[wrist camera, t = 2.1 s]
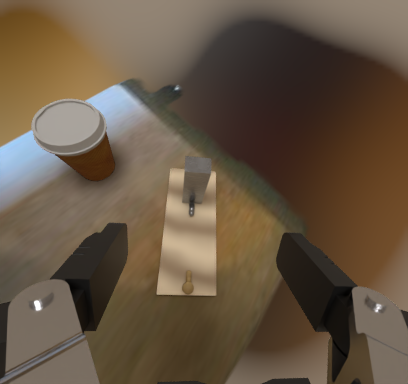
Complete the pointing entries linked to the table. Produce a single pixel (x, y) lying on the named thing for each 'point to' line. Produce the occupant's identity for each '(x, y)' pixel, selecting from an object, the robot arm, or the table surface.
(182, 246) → the rail
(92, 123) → the disposable coffee cup
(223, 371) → the table surface
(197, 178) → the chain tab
